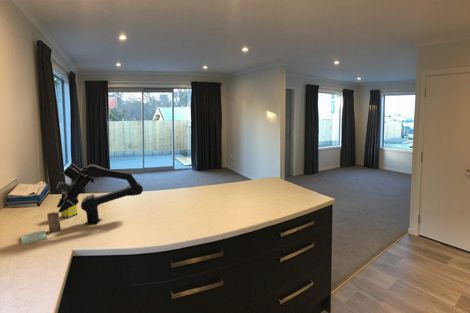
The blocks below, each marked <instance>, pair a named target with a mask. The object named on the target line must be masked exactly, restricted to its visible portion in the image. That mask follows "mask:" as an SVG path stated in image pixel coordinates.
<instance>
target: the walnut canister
mask: <svg viewBox="0 0 470 313" xmlns="http://www.w3.org/2000/svg"><path fill="white" fill-rule="evenodd" d="M59 213H60V212H58V211H53V212H49V213H47V214H46V217H47V224H48V230H49V231H48V232H49V233H57V232H60V231H61V230H62V228H61V227H62V226H61V220H60V214H59Z"/></svg>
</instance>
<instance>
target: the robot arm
mask: <svg viewBox="0 0 470 313" xmlns="http://www.w3.org/2000/svg"><path fill="white" fill-rule="evenodd" d="M62 174H63V175H64V176H66V177H67V178H68V179H69V180H75V181H74V182H71V183H70V184H69V183H66V182H62V181H58V183H57V185H56V190H58V191H61V193H60V194H61V199H60V198H59V199H60V201H58V203H57V205H56V208H58V209H59V210H58V211H57V212H59V213H61V212H62V211H64V210H66V209H68V208H70V207H72V206H75V205H76V206H77V205H78V203H79V199H78V198H79V195H80V194H81V193H82V192H84V189H86V187H87V185H89V183H90V182H91V183H92V184H94V183H95V178H99V177H107V178H112V179H118V180H124V181H127V182H128V184H129V185H128V186H126V187H124V188H121V189H118V190H114V191H112V192H109V193H105V194H102V195H97V196H95V194H90V195H86V196H85V197H84V198H83V199H82V200H81V204H80V208H81V209H82V210H83V211H85V213H86V222H85V223H84V225H97V224H99V223H100V222H101V221H102V218H100V217H99V209H98V206H100V205H102V204H105V203H110V202H112V201H115V200H119V199H121V198H124V197H132V196H139V195H141V194H142V193H143V191H144V188H143V186H142V184H141V183H140V182H137V180H136V179H135V178H134V176H133V175H132V173H131V172H129V171H128V172H126V171H119V170H115V169H108V168H105V167H102V166H99V165H98V164H94V163H93V164H92V163H90V164H89V165H87V166H86V167H82V168H79V167H78V166H76V165H75V164H74V163H73V162H71V163H70V165H68V166H67V167H66V168H65V169H64V170H63V172H62ZM60 207H61V208H60Z"/></svg>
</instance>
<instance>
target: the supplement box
mask: <svg viewBox="0 0 470 313" xmlns="http://www.w3.org/2000/svg"><path fill="white" fill-rule="evenodd" d="M60 199H61V198H59V199H58V200H59V201H60ZM59 201H58V202H59ZM60 208H61V207H59V209H60ZM77 208H78V207H77V205H75V206H72V207H70V208H68V209H66V210H64V211H62V212H60V213H61V214H60V215H61V218H67V219H71V218H73V217H75V216H77V215H78V209H77Z"/></svg>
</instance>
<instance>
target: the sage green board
mask: <svg viewBox="0 0 470 313" xmlns="http://www.w3.org/2000/svg"><path fill="white" fill-rule="evenodd" d="M20 238H21V239H20V240H21V245H22V246H23V245H27V244H31V243H35V242H40V241H44V240H48V235H47V233H46V230H41V231H37V232H32V233H27V234H23V235H20Z"/></svg>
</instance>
